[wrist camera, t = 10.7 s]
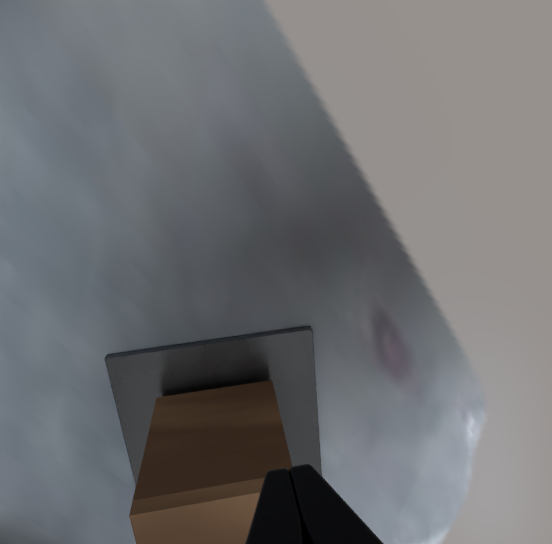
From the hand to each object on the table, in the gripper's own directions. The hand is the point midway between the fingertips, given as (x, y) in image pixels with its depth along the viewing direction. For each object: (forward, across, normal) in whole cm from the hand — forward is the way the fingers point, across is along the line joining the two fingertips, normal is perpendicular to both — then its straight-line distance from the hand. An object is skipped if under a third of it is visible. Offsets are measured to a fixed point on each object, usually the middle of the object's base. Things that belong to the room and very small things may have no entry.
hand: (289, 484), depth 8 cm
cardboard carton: (+12, +2, +8) cm, 14 cm away
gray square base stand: (+12, +2, +8) cm, 15 cm away
